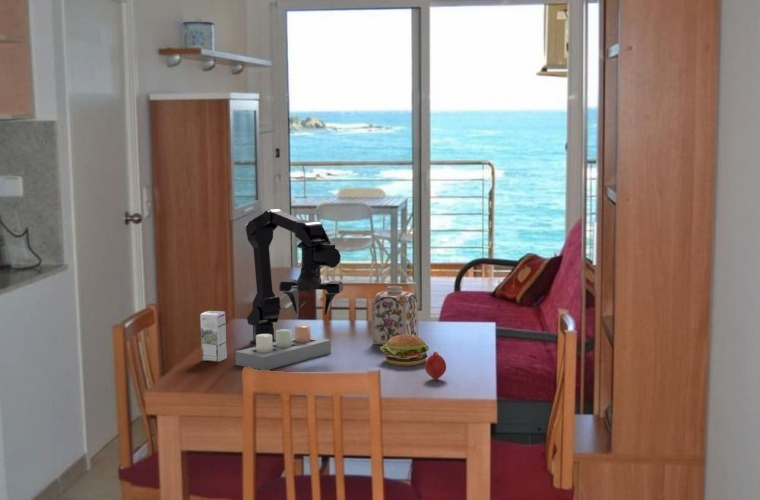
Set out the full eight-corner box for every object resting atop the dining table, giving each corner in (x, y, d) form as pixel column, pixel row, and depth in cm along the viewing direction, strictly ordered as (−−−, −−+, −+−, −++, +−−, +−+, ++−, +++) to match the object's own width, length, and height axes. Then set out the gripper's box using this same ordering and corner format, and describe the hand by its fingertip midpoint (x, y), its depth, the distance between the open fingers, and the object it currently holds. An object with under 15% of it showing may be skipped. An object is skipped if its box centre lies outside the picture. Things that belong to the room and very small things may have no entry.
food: (373, 359, 305) (372, 333, 304) (415, 354, 311) (415, 329, 310) (392, 369, 293) (391, 342, 292) (436, 364, 298) (435, 337, 297)
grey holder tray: (235, 364, 301) (235, 351, 300) (303, 347, 322) (302, 335, 321) (264, 370, 293) (263, 357, 292) (330, 352, 314) (330, 340, 313)
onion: (423, 377, 283) (423, 349, 282) (444, 376, 284) (444, 348, 283) (426, 382, 277) (426, 353, 276) (447, 382, 278) (447, 353, 277)
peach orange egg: (291, 347, 313) (291, 326, 312) (303, 345, 316) (302, 324, 316) (303, 349, 310) (302, 328, 309) (314, 347, 313) (313, 326, 312)
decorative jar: (371, 344, 325) (370, 288, 323) (385, 337, 336) (384, 283, 333) (406, 347, 321) (406, 290, 318) (419, 339, 331) (418, 284, 329)
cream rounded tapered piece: (253, 357, 301) (252, 335, 300) (265, 354, 304) (264, 333, 304) (264, 359, 298) (263, 337, 297) (276, 356, 301) (275, 335, 300)
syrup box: (227, 358, 309) (226, 310, 307) (218, 362, 304) (216, 314, 302) (210, 356, 311) (209, 309, 309) (201, 361, 306) (199, 313, 304)
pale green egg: (272, 352, 307) (272, 331, 306) (284, 349, 310) (283, 328, 310) (284, 354, 304) (283, 333, 303) (295, 351, 307) (295, 330, 306)
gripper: (273, 266, 303) (274, 318, 306) (334, 268, 300) (334, 321, 302) (284, 260, 314) (284, 310, 316) (343, 262, 310) (343, 313, 313)
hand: (311, 313), depth 312 cm, fingers open, 9 cm apart
